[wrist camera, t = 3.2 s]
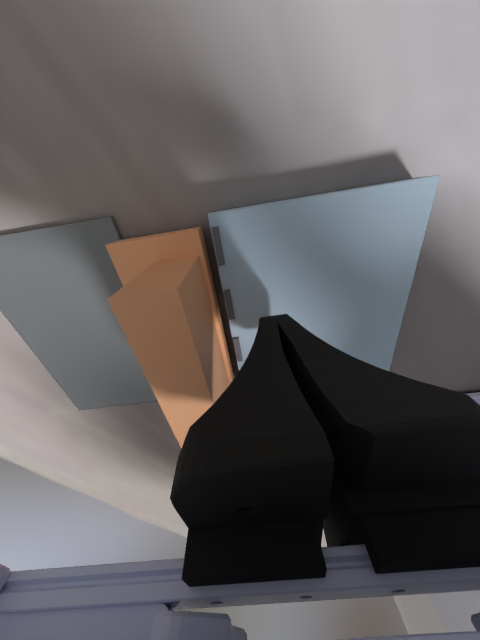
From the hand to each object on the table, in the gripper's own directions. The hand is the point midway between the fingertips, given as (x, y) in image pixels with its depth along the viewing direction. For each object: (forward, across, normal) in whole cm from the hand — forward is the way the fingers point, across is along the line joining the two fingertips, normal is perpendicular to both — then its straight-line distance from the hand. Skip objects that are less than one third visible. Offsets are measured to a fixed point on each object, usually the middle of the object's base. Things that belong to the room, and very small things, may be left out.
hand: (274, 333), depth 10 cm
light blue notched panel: (+2, -2, 0) cm, 3 cm away
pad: (+2, +11, 0) cm, 11 cm away
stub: (+2, +5, 0) cm, 5 cm away
